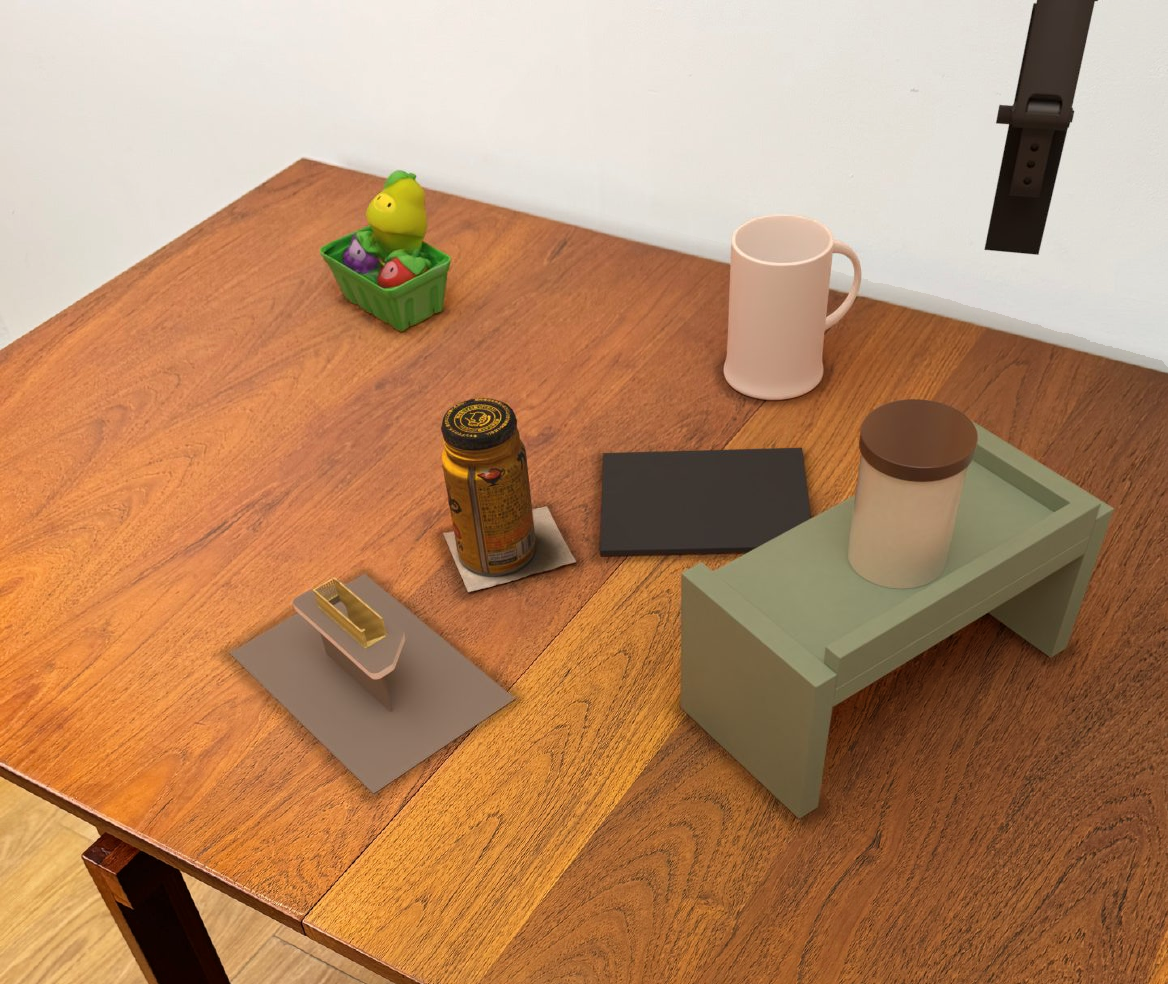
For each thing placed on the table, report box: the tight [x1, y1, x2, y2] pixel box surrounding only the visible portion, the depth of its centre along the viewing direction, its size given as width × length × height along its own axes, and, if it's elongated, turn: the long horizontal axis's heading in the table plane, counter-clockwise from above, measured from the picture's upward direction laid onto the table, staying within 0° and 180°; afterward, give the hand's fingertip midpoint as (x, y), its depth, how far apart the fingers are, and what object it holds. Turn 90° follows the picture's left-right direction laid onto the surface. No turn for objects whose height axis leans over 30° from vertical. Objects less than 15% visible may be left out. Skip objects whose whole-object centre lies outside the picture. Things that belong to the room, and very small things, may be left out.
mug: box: [723, 213, 862, 401], centre depth 104 cm, size 12×8×12 cm
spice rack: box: [679, 420, 1115, 820], centre depth 80 cm, size 24×12×13 cm, turn 125°
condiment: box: [440, 397, 577, 593], centre depth 91 cm, size 7×8×12 cm
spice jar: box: [847, 398, 978, 589], centre depth 73 cm, size 6×6×9 cm
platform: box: [229, 573, 516, 795], centre depth 86 cm, size 12×18×7 cm, turn 41°
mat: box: [599, 447, 812, 557], centre depth 98 cm, size 16×12×1 cm
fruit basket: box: [318, 169, 452, 333], centre depth 115 cm, size 11×9×11 cm
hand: (1022, 187), depth 69 cm, fingers open, 13 cm apart
